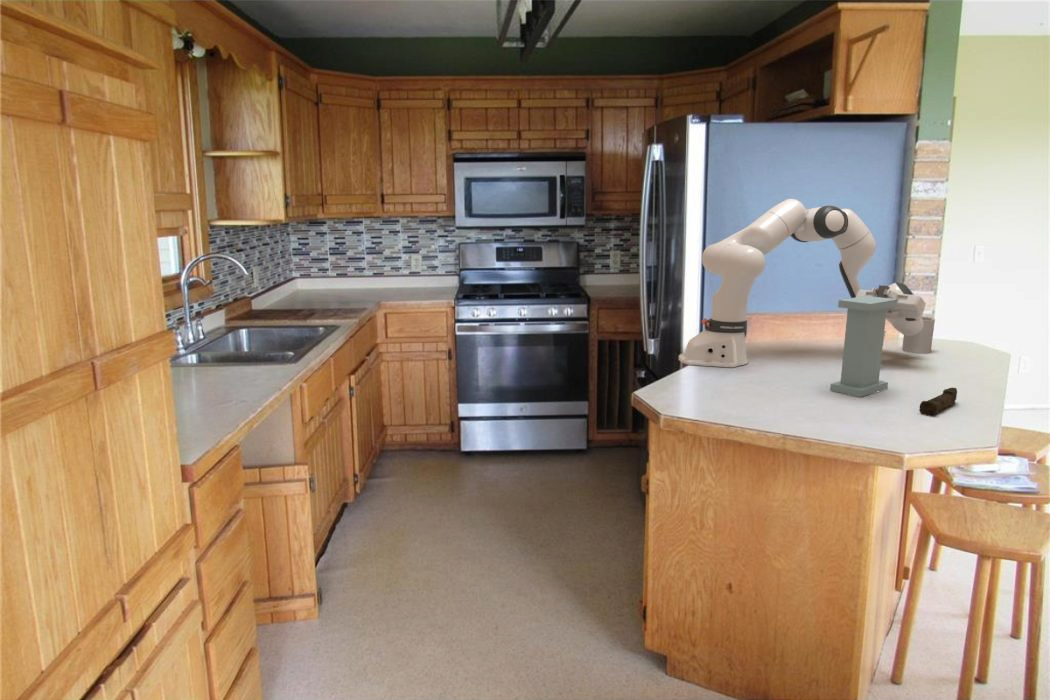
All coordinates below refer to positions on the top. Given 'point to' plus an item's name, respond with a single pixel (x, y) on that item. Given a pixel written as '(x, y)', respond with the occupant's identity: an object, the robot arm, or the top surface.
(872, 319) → the stand
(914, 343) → the cup
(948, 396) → the dark brown elongated piece
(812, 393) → the top surface
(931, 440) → the top surface
